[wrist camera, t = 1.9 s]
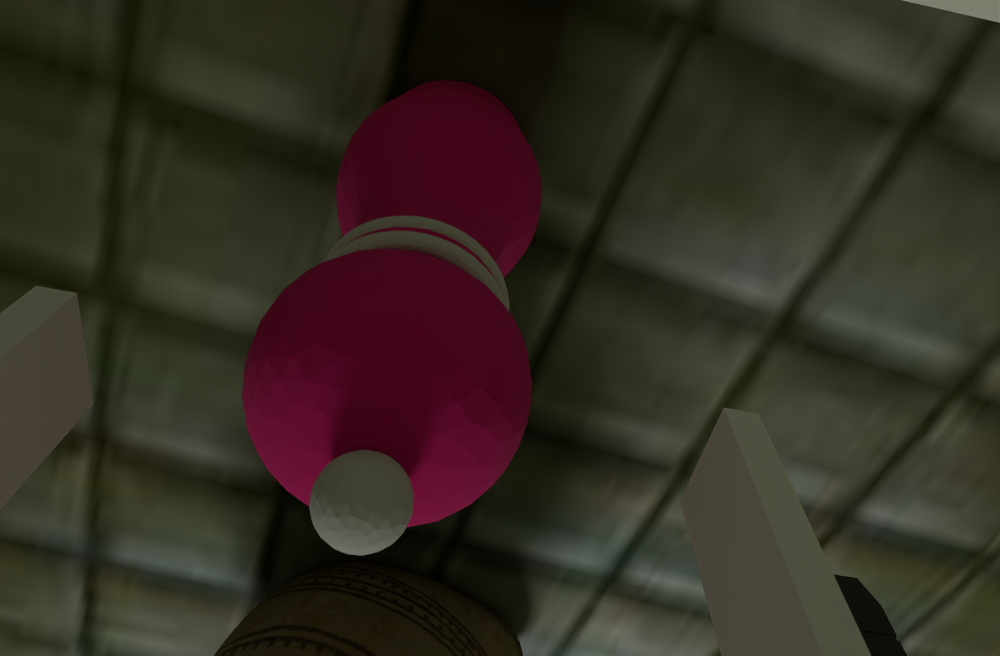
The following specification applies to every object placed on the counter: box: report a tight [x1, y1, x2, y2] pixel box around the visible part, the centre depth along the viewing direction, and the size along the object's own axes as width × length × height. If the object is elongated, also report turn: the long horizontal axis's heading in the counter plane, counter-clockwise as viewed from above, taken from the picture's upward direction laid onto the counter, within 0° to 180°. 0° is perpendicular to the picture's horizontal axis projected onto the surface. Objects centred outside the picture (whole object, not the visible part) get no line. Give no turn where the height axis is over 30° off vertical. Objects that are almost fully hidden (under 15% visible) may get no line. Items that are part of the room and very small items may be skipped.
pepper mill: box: [242, 80, 542, 556], centre depth 20 cm, size 7×7×20 cm
